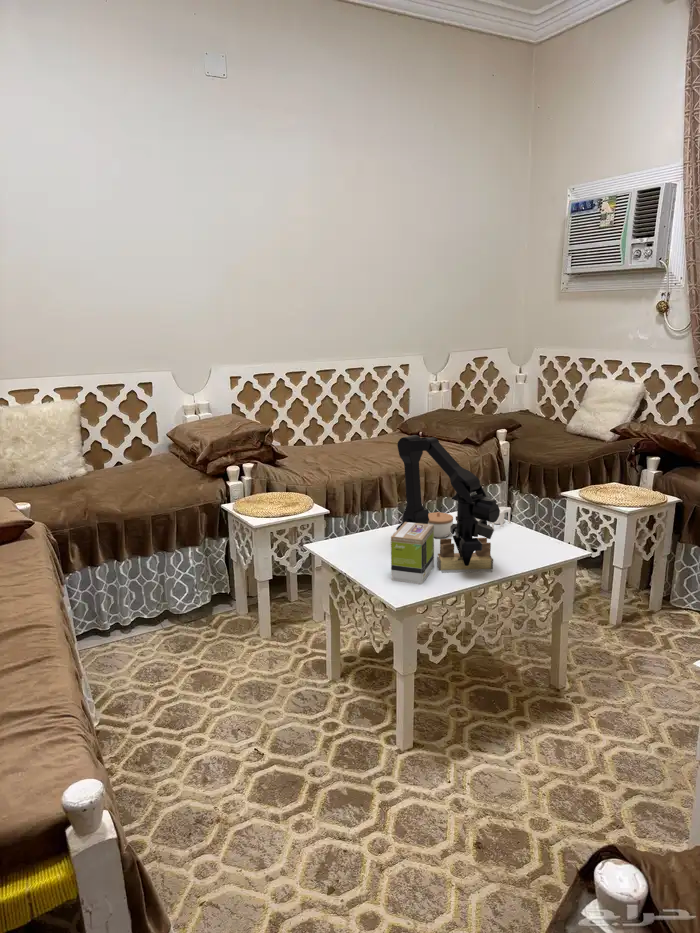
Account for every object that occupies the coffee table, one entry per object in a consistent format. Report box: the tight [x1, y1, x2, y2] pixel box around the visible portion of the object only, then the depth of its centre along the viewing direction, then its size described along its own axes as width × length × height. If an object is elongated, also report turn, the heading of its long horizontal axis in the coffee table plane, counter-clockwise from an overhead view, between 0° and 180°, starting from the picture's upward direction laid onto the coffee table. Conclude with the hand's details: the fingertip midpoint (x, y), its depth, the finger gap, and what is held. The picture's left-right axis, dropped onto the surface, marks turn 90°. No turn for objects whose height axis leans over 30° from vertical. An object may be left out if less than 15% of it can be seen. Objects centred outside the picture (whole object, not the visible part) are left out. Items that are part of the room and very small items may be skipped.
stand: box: [437, 537, 492, 558], centre depth 215 cm, size 17×6×6 cm, turn 93°
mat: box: [440, 569, 493, 574], centre depth 207 cm, size 16×7×1 cm, turn 93°
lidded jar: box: [428, 511, 454, 539], centre depth 236 cm, size 11×11×9 cm
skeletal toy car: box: [476, 506, 512, 529], centre depth 244 cm, size 20×11×7 cm, turn 110°
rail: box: [436, 555, 494, 572], centre depth 207 cm, size 17×3×3 cm, turn 93°
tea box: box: [390, 522, 435, 585], centre depth 202 cm, size 15×10×15 cm
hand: (464, 562), depth 207 cm, fingers open, 5 cm apart
